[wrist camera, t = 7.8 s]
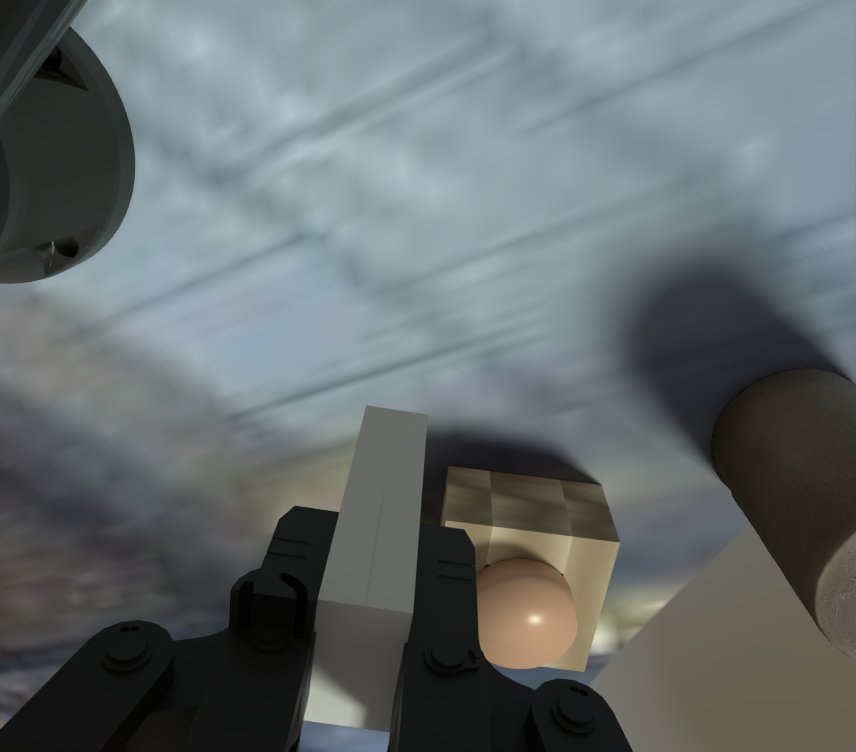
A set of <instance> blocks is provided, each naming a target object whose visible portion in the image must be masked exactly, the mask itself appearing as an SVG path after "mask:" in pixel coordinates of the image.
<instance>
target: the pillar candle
mask: <svg viewBox="0 0 856 752" xmlns="http://www.w3.org/2000/svg"><path fill="white" fill-rule="evenodd" d="M712 438H713V440H712V441H711V442H712V443H711V457H712V461H713V465H714V468H715V471H716V473H717V475H718V477H719V478H720V480H721V481H722V482H723V483H724V484H725V485H726V486H727V487H728V488H729V489H730V491H731V493H732V497H733V498H734V500H735V501H736V503H737V504H738V506H739V507H740V508H741V510H742V511H743V512H744V514H745V516H746V517H747V518H748V520H749V522H750V523H751V525H752V526H753V527H754V529H755V530H756V532H757V534H758V535H759V536H760V538H761V540H762V542H763V543H764V544H765V546H766V548H767V550H768V551H769V553H770V554H771V556H772V557H773V559H774V560H775V562H776V563H777V564H778V566H779V568H780V569H781V571H782V573H783V574H784V576H785V577H786V579H787V580H788V582H789V584H790V585H791V587H792V588H793V590H794V591H795V593H796V595H797V596H798V597H799V599H800V600H801V602H802V603H803V605H804V606H805V608H806V609H807V611H808V612H809V614H810V615H811V617H812V618H813V620H814V622H815V623H816V625H817V627H818V628H819V630H820V631H821V632H822V633H823V634H824V636H825V637H826V638H827V639H828V640H829V642H830V643H831V644H832V645H834V646H835V647H836V648H838V649H839V650H841V651H842V652H843V653H844V654H846V655H847V656H849V657H851V658H853V659H855V660H856V385H855V384H853V383H852V382H850V381H849V380H847V379H845V378H843V377H841V376H839V375H837V374H835V373H833V372H830V371H823V370H819V369H812V368H802V369H793V370H787V371H783V372H781V373H777V374H773V375H770V376H768V377H765V378H763V379H762V380H760V381H757V382H756V383H754V384H752V385H751V386H750V387H748V388H747V389H746V390H745V391H743V392H742V393H741V394H739V395H738V396H737V397H736V398H735V399H734V400H733V401H732V402H731V403H729V404H728V406H727V407H726V408H725V409H724V411H723V412H722V413H721V415H720V417H719V420H718V421H717V423H716V425H715V428H714V432H713V434H712Z"/></svg>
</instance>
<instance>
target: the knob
mask: <svg viewBox="0 0 856 752" xmlns="http://www.w3.org/2000/svg"><path fill="white" fill-rule="evenodd" d="M476 584H477V608H478V631H479V642H480V647H481V650H482V652H483V653H484V656H485V658H486V659H487V660H488V661H489V662H491V663H494V664H496V665H499V666H503V667H507V668H514V669H528V668H535V667H539V666H543V665H546V664H548V663H550V662H553V661H554V660H556V659H558V658H559V657H560V656H562V655H563V654H564V653H565V652H566V651H567V650H568V649H569V648H570V646H571V645H572V643H573V642H574V640H575V637H576V634H577V629H578V622H577V616H576V611H575V606H574V601H573V596H572V592H571V589H570V586H569V584H568V583H567V581H566V580H565V578H564V577H563V576H562V575H561V574H560V573H559V572H558V571H556V570H555V569H554V568H552V567H550V566H548V565H546V564H544V563H541V562H538V561H534V560H529V559H509V560H504V561H500V562H497V563H494V564H492V565H488V564H487V567H486V568H484V569H483V570H482V571H480V572H479V573H478V574H477V575H476Z"/></svg>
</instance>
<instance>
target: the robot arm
mask: <svg viewBox="0 0 856 752" xmlns="http://www.w3.org/2000/svg"><path fill="white" fill-rule="evenodd" d="M86 2H87V0H0V283H5V284H14V283H25V282H32V281H37V280H41V279H45V278H48V277H52V276H54V275H57V274H59V273H61V272H64V271H66V270H68V269H70V268H72V267H74V266H76V265H78V264H80V263H82V262H84V261H86V260H87V259H89V258H90V257H92V256H93V255H94V254H96V253H97V252H98V251H100V250H101V249H102V248H103V247H104V246H105V245H106V244H107V243H108V241H109V240H110V239H111V238H112V237H113V235H114V234H115V233H116V231H117V230H118V228H119V226H120V225H121V223H122V221H123V219H124V217H125V215H126V212H127V209H128V207H129V204H130V200H131V196H132V192H133V186H134V179H135V153H134V144H133V138H132V133H131V128H130V124H129V121H128V117H127V114H126V111H125V108H124V106H123V103H122V101H121V98H120V96H119V94H118V92H117V90H116V88H115V86H114V84H113V82H112V80H111V78H110V77H109V75H108V73H107V72H106V70H105V69H104V67H103V66H102V64H101V63H100V61H99V60H98V58H97V57H96V56H95V55H94V53H93V52H92V51H91V49H90V48H89V47H88V46H87V45H86V44H85V43H84V42H83V40H82V39H81V38H80V37H79V36H78V35H77V34H76V33H75V32H74V31H73V30H72V29H70V28H69V26H70V24H71V23H72V22H73V20H74V19H75V17H76V16H77V15H78V13H79V12H80V10H81V9H82V7H83V6H84V5H85V3H86ZM427 418H428V415H425V414H418V413H412V412H406V411H399V410H393V409H386V408H380V407H373V406H367V405H366V409H365V413H364V417H363V421H362V425H361V429H360V433H359V437H358V441H357V445H356V449H355V453H354V457H353V461H352V465H351V469H350V473H349V477H348V481H347V484H346V488H345V492H344V496H343V500H342V504H341V508H340V512H334V511H327V510H321V509H314V508H307V507H300V506H294V507H293V508H292V509H291V510H289V511H288V512H287V513H286V514H285V515H284V516H283V517H281V518H280V519H279V521H278V524H277V526H276V529H275V532H274V534H273V537H272V541H271V542H270V545H269V547H268V550H267V554H266V555H265V558H264V561H263V563H262V566H261V568H260V569H257V570H253V571H250V572H249V573H247V574H245V575H244V576H242V577H241V578H239V579H238V580H237V582H236V583H235V584H234V586H233V587H232V589H231V596H230V618H229V627H227V628H226V629H224V630H223V631H220V632H218V633H215V634H213V635H210V636H205V637H200V638H194V639H185V640H177V641H173V639H172V638H171V636H170V634H169V633H168V631H167V630H166V629H164V628H162V627H161V626H159V625H157V624H156V623H152V622H146V621H141V620H136V621H127V622H120V623H117V624H115V625H112V626H110V627H107V628H104V629H103V630H101V631H100V632H99V633H97V634H96V635H95V636H93V637H92V638H91V639H89V640H88V641H87V642H86V643H85V644H84V645H83V646H82V647H81V648H80V649H79V650H78V651H77V652H76V653H75V654H74V655H73V656H72V657H71V658H70V659H69V660H68V661H67V662H66V663H65V664H64V666H63V667H62V668H61V669H60V670H59V671H58V672H57V673H56V674H55V675H54V676H53V677H52V678H51V679H50V680H49V681H48V682H47V683H46V684H45V685H44V686H43V687H42V688H41V689H40V690H39V691H38V692H37V693H36V694H35V695H34V696H33V697H32V698H31V699H30V700H29V701H28V702H27V703H26V704H25V705H24V706H23V707H22V708H21V709H20V710H19V711H18V712H17V713H16V714H15V715H14V716H13V717H12V718H11V719H10V720H9V721H8V722H7V723H6V724H5V725H4V726H3V727H2V728H1V729H0V752H299V744H300V735H301V728H302V724H303V719H304V720H306V721H313V722H320V723H328V724H335V725H342V726H349V727H356V728H364V729H371V730H378V731H385V732H390V739H389V745H388V750H387V752H633V751H632V749H631V747H630V745H629V743H628V741H627V739H626V737H625V735H624V733H623V731H622V729H621V727H620V725H619V723H618V721H617V719H616V717H615V715H614V713H613V711H612V710H611V708H610V707H609V705H608V704H607V703H606V701H605V700H604V698H603V697H602V696H600V695H599V694H598V693H596V692H595V691H594V690H593V689H591V688H590V687H589V686H586V685H584V684H582V683H579V682H577V681H574V680H567V679H554V680H550V681H546V682H544V683H543V684H542V685H541V686H540V687H538V688H537V689H536V690H534V689H531V688H529V687H527V686H524V685H522V684H520V683H517V682H515V681H513V680H511V679H509V678H508V677H506V676H504V675H502V674H501V673H500V672H499V671H497V670H496V669H495V668H494V667H493V666H492V665H491V664H490V663H489V661H488V660H487V659H486V658H485V656H484V653H483V652H482V650H481V647H480V642H479V631H478V608H477V584H476V569H475V567H476V560H475V546H474V545H473V543H472V541H471V540H470V538H469V536H468V535H467V533H466V531H465V530H464V529H459V528H452V527H445V526H439V525H432V524H425V523H420V513H421V499H422V486H423V472H424V459H425V445H426V432H427Z"/></svg>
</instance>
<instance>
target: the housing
mask: <svg viewBox="0 0 856 752" xmlns="http://www.w3.org/2000/svg"><path fill="white" fill-rule="evenodd" d="M440 526H445V527H452V528H459V529H464V530H465V531H466V533H467V535H468V536H469V538H470V540H471V541H472V543H473V545H474V546H475V560H476V567H475V569H476V575H477V574H478V573H479V572H480V571H482V570H483V569H484V568H486V567H487V564H488V565H492V564H494V563H497V562H500V561H504V560H509V559H529V560H534V561H538V562H541V563H544V564H546V565H548V566H550V567H552V568H554V569H555V570H556V571H558V572H559V573H560V574H561V575H562V576H563V577H564V578H565V580H566V581H567V583H568V584H569V586H570V589H571V592H572V596H573V601H574V606H575V611H576V616H577V622H578V629H577V634H576V637H575V640H574V642H573V643H572V645H571V646H570V648H569V649H568V650H567V651H566V652H565V653H564V654H563V655H562V656H560V657H559V658H558V659H556V660H554V661H553V662H550V663H548V664H546V665H543V667H550V668H558V669H566V670H574V671H582V672H584V670H585V667H586V663H587V659H588V656H589V652H590V649H591V645H592V641H593V638H594V634H595V631H596V627H597V624H598V620H599V616H600V613H601V609H602V606H603V602H604V598H605V595H606V591H607V588H608V584H609V581H610V577H611V573H612V570H613V566H614V563H615V559H616V555H617V552H618V548H619V545H620V541H619V538H618V535H617V532H616V528H615V525H614V522H613V519H612V516H611V513H610V510H609V507H608V504H607V501H606V497H605V494H604V491H603V488H602V485H596V484H589V483H581V482H573V481H565V480H557V479H549V478H541V477H533V476H526V475H518V474H510V473H502V472H494V471H486V470H478V469H471V468H463V467H455V466H448V472H447V479H446V486H445V493H444V499H443V506H442V513H441V520H440Z"/></svg>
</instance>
